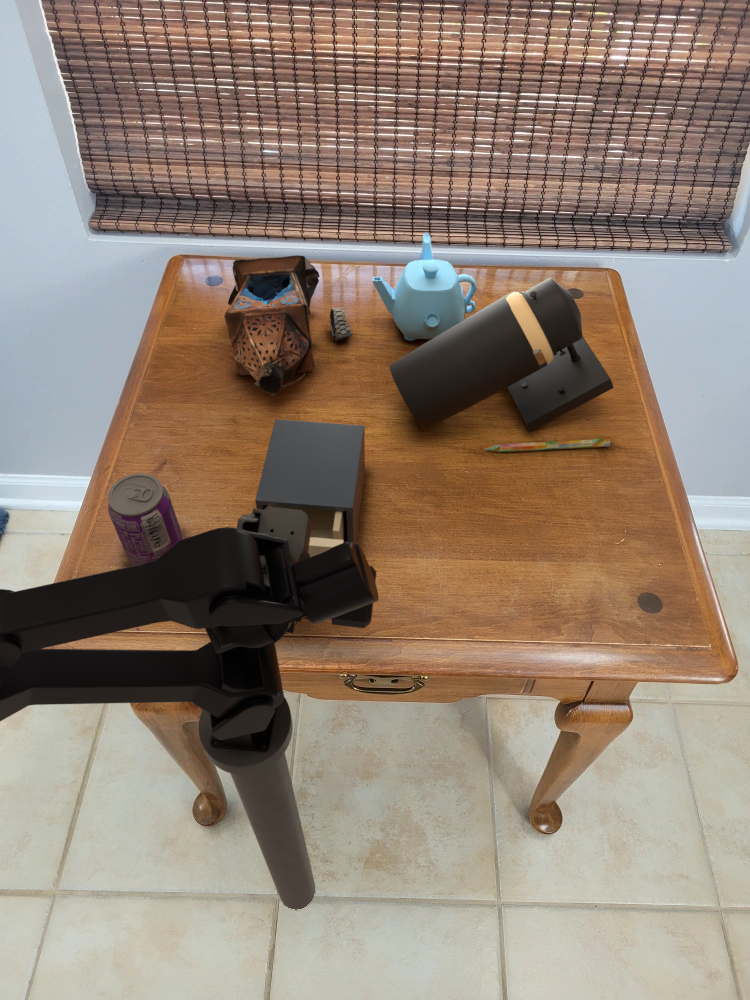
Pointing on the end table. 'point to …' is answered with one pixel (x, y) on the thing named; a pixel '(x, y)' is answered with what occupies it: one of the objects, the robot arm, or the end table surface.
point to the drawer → (324, 528)
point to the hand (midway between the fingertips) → (297, 571)
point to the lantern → (272, 319)
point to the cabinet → (315, 469)
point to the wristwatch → (339, 324)
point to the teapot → (427, 296)
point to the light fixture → (506, 360)
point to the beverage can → (143, 517)
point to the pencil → (550, 445)
